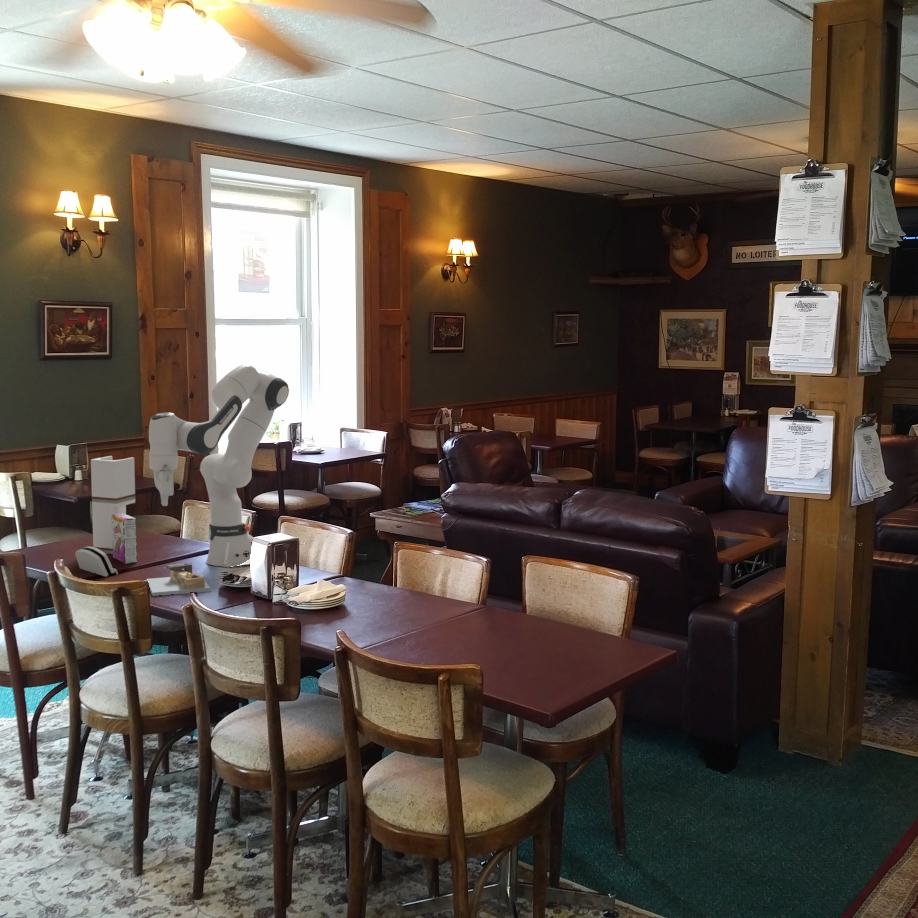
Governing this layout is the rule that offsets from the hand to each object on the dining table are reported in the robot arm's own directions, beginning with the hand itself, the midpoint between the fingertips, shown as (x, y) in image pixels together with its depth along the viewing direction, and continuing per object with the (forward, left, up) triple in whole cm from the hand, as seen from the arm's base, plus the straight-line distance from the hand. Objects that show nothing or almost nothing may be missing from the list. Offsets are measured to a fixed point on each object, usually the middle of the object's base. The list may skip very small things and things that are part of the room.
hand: (164, 505), depth 322 cm
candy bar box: (+10, -41, -27) cm, 50 cm away
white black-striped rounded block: (+20, -27, -28) cm, 44 cm away
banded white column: (+12, -59, -27) cm, 66 cm away
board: (-3, +2, -27) cm, 27 cm away
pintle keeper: (-5, +1, -27) cm, 28 cm away
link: (-6, +3, -26) cm, 27 cm away
